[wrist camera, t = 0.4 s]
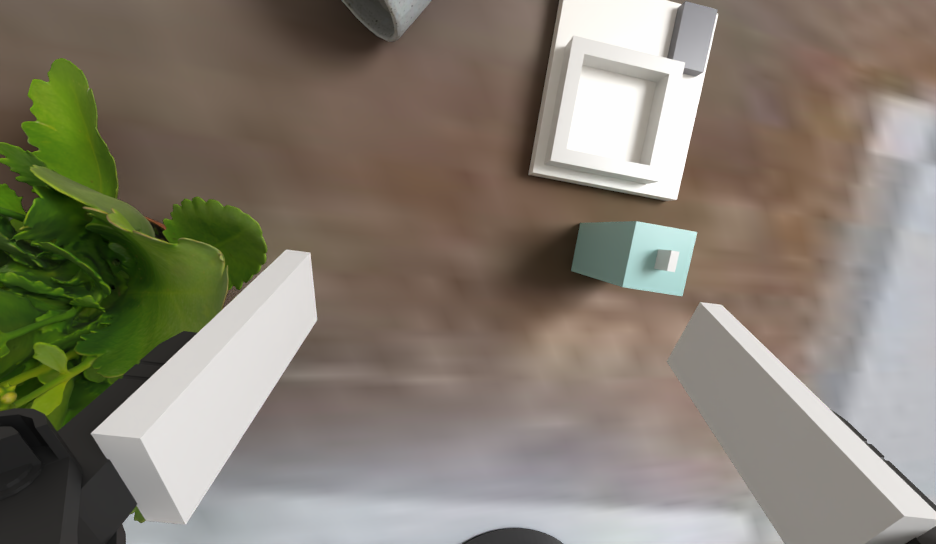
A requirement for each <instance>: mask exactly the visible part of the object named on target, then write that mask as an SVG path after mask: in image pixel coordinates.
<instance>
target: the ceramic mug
mask: <svg viewBox="0 0 936 544" xmlns="http://www.w3.org/2000/svg"><path fill="white" fill-rule="evenodd" d="M341 1H342V2H343V3H344V4H345V5H346V6H347V7H348V8H349V9H350V10H351V12H352V13H353V14H354V15H355V17H356V18H357V19H358V20H359V21H360V22H361V23H363V24H364V25H365V26H366V27H367V28H368V29H369V30H370V31H372V32H373V33H374V34H375V35H377V36H378V37H380V38H382V39H384V40H386V41H389V42H394V41H396V40H398V39H399V38H400V37H401V36H402V35H403V33H404V32H405V31H406V30H407V29H408V27H409V26H410V25H411V24H412V23H413V22H414V21H415V20H416V18H417V17H418V16H419V15H420V14H421V13H422V11H423V10H424V9H425V8H426V7H427V6H428V4H429V3H430V2H431V1H432V0H341Z"/></svg>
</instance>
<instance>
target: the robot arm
mask: <svg viewBox="0 0 936 544" xmlns="http://www.w3.org/2000/svg"><path fill="white" fill-rule="evenodd" d="M316 321H317V313H316V303H315V294H314V284H313V274H312V264H311V254H310V253H309V252H301V251H293V250H285V251H284V252H283V253H282V254H281V255H280V256H279V257H278V258H277V259H276V260H275V261H274V262H273V263H272V264H270V265H269V266H268V267H267V268H266V269H265V270H264V271H263V272H262V273H261V274H260V275H259V276H258V277H257V278H256V279H255V280H253V281H252V282H251V283H250V284H249V285H248V286H247V287H246V288H245V289H244V290H243V291H242V292H241V293H240V294H239V295H237V296H236V297H235V298H234V299H233V300H232V301H231V302H230V303H229V304H228V305H227V306H226V307H225V308H224V309H223V310H222V311H220V312H219V313H218V314H217V315H216V316H215V317H214V318H213V319H212V320H211V321H210V322H209V323H208V324H207V325H206V326H204V327H203V328H202V329H201V330H200V331H199V332H198V333H197V332H188V331H183V332H181V333H179V334H177V335H175V336H173V337H171V338H170V339H168V340H166V341H164V342H162V343H160V344H158V345H157V346H156V347H155V348H154V349H153V350H151V351H150V352H149V353H148V354H147V355H146V356H145V357H143V358H142V359H141V360H140V363H139V364H135V365H134V366H133V367H132V368H131V369H129V370H128V371H127V372H126V373H125V374H124V375H123V378H122V379H120V378H119V379H118V380H117V381H115V382H114V383H113V384H112V385H111V386H110V387H108V388H107V389H106V390H105V391H104V392H103V393H102V394H100V395H99V396H98V397H97V398H96V399H95V400H93V401H92V402H91V403H90V404H89V405H88V406H86V407H85V408H84V409H83V410H82V411H81V412H79V413H78V414H77V415H76V416H75V417H74V418H72V419H71V420H70V421H69V422H68V423H67V424H65V425H64V426H63V427H62V428H61V429H60V430H59V431H56V429H55V428H54V427H53V425H52V424H51V422H50V421H49V419H48V418H47V417H46V415H45V414H44V413H42V412H39V411H37V410H35V409H28V408H14V409H9V410H4V411H0V544H126V534H125V531H124V528H123V525H122V523H123V522H124V521H125V520H126V518H127V517H128V516H129V514H130V513H131V512H132V511H133V509H134V508H135V507H136V506H137V507H138V509H139V511H140V512H141V514H142V515H143V517H144V518H145V520H146V521H151V522H162V523H173V524H184V525H186V524H187V522H188V520H189V519H190V517H191V516H192V514H193V513H194V511H195V510H196V508H197V506H198V505H199V503H200V502H201V500H202V499H203V497H204V495H205V494H206V492H207V491H208V489H209V488H210V486H211V485H212V483H213V481H214V480H215V478H216V477H217V475H218V474H219V472H220V471H221V469H222V467H223V466H224V464H225V463H226V461H227V460H228V458H229V457H230V455H231V453H232V452H233V450H234V449H235V447H236V446H237V444H238V443H239V441H240V439H241V438H242V436H243V435H244V433H245V432H246V430H247V429H248V427H249V425H250V424H251V422H252V421H253V419H254V418H255V416H256V415H257V413H258V411H259V410H260V408H261V407H262V405H263V404H264V402H265V400H266V399H267V397H268V396H269V394H270V393H271V391H272V390H273V388H274V386H275V385H276V383H277V382H278V380H279V379H280V377H281V376H282V374H283V372H284V371H285V369H286V368H287V366H288V365H289V363H290V362H291V360H292V358H293V357H294V355H295V354H296V352H297V351H298V349H299V348H300V346H301V344H302V343H303V341H304V340H305V338H306V337H307V335H308V334H309V332H310V330H311V329H312V327H313V326H314V324H315V323H316ZM667 363H668V364H669V366H670V367H671V369H672V370H673V372H674V373H675V375H676V376H677V378H678V380H679V381H680V383H681V384H682V386H683V387H684V389H685V390H686V392H687V393H688V395H689V397H690V398H691V400H692V401H693V403H694V404H695V406H696V407H697V409H698V410H699V412H700V414H701V415H702V417H703V418H704V420H705V421H706V423H707V424H708V426H709V427H710V429H711V431H712V432H713V434H714V435H715V437H716V438H717V440H718V441H719V443H720V444H721V446H722V448H723V449H724V451H725V452H726V454H727V455H728V457H729V458H730V460H731V461H732V463H733V465H734V466H735V468H736V469H737V471H738V472H739V474H740V475H741V477H742V478H743V480H744V482H745V483H746V485H747V486H748V488H749V489H750V491H751V492H752V494H753V495H754V497H755V499H756V500H757V502H758V503H759V505H760V506H761V508H762V509H763V511H764V512H765V514H766V516H767V517H768V519H769V520H770V522H771V523H772V525H773V526H774V528H775V529H776V531H777V533H778V534H779V536H780V537H781V539H782V540H783V542H784V543H785V544H936V505H935V504H934V503H933V502H932V501H931V500H929V499H928V498H927V497H926V496H925V495H924V494H923V493H922V492H921V491H920V490H919V489H918V488H917V487H916V486H915V485H914V484H913V483H912V482H911V481H909V480H908V479H907V478H906V477H905V476H904V475H903V474H902V473H901V472H900V471H899V470H898V469H897V468H896V467H895V466H894V465H893V464H892V463H891V462H890V461H886V460H885V459H884V456H883V455H882V454H881V453H880V452H879V451H878V450H877V449H876V448H875V447H874V446H873V445H872V444H868V443H867V440H866V439H865V438H864V437H863V436H862V435H861V434H860V433H859V432H858V431H857V430H856V429H855V428H854V427H853V426H852V425H851V424H850V423H849V422H848V421H846V420H845V419H843V418H842V417H841V416H839V415H838V414H836V413H835V412H834V411H832V410H831V409H829V408H828V407H827V406H826V405H825V404H824V403H823V402H822V401H821V400H820V399H819V398H818V397H817V396H816V395H814V394H813V393H812V392H811V391H810V390H809V389H808V388H807V387H806V386H805V385H804V384H803V383H802V382H801V381H800V380H799V379H798V378H797V377H796V376H795V375H794V374H793V373H792V372H791V371H790V370H789V369H788V368H786V367H785V366H784V365H783V364H782V363H781V362H780V361H779V360H778V359H777V358H776V357H775V356H774V355H773V354H772V353H771V352H770V351H769V350H768V349H767V348H766V347H765V346H764V345H763V344H762V343H761V342H760V341H759V340H757V339H756V338H755V337H754V336H753V335H752V334H751V333H750V332H749V331H748V330H747V329H746V328H745V327H744V326H743V325H742V324H741V323H740V322H739V321H738V320H737V319H736V318H735V317H734V316H733V315H732V314H731V313H730V312H728V311H727V310H726V309H725V308H724V307H723V306H722V305H719V304H711V303H703V302H700V303H699V305H698V307H697V308H696V310H695V312H694V314H693V316H692V317H691V319H690V321H689V323H688V325H687V326H686V328H685V330H684V332H683V333H682V335H681V337H680V339H679V341H678V342H677V344H676V346H675V348H674V349H673V351H672V353H671V355H670V357H669V358H668V360H667ZM465 544H563V543H562V542H560V541H559V540H557V539H556V538H554V537H552V536H550V535H548V534H545V533H542V532H539V531H535V530H530V529H522V528H512V529H502V530H497V531H493V532H489V533H486V534H483V535H481V536H478V537H476V538H474V539H472V540H470V541H468V542H467V543H465Z"/></svg>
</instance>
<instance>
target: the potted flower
mask: <svg viewBox="0 0 936 544" xmlns="http://www.w3.org/2000/svg"><path fill="white" fill-rule="evenodd" d="M47 74H48V77H49V80H50V81H49V82H44V81H42V80H39V79H33V80H32V83H31V85H30V89H29V92H28V96H29V98H30V99H31V100H32V101H33V106H32V107H31V108H30V111H31V112H32V113H33V114H34V116H35V117H36V118H37V121H34V122H33V121H27V122H23V123H22V125H21V128H22V129H23V131H24V132H25V134H26V135H27V136H28V140H27V141H28V143H30V144H31V145H33V146H35V147H37V148H38V149H39V150H38V151H34V152H30V151H28V150H27V151H24V150H23V149H21V148H20V147H18V146H13V145H10V144H8V143H4V142H0V154H2V155H4V156H6V158H0V162H1V163H3V164H5V165H7V166H9V167H10V168H11V169H10V170H11V171H13V172H16V173H18V174H20V176H18V177H16V178H15V179H16V180H17V181H19V182H24V183H27V184H29V185H30V186H33V189H32V190H31V191H32V192H34V193H37V194H38V196H39V197H40V198H35V199H34V200H33V204H32V206H31V207H30V209H29V210H28V212H27V213H26V212H25V211H24V209H23V207H22V205H21V201H22V198H23V197H18V196H17V195H16V193H15V191H14V190H12V189H10V188H9V187H8V185H7V184H0V214H1V215H0V411H4V410H9V409H14V408H28V409H35V410H37V411H39V412H42V413H44V414H45V415H46V417H47V418H48V419H49V421H50V422H51V424H52V425H53V427H54V428H55V429H56V431H59V430H60V429H61V428H62V427H63V426H64V425H65V424H67V423H68V422H69V421H70V420H71V419H72V418H74V417H75V416H76V415H77V414H78V413H79V412H81V411H82V410H83V409H84V408H85V407H86V406H88V405H89V404H90V403H91V402H92V401H93V400H95V399H96V398H97V397H98V396H99V395H100V394H102V393H103V392H104V391H105V390H106V389H107V388H108V387H110V386H111V385H112V384H113V383H114V382H115V381H117V380H118V379H119V378H120V379H122V378H123V375H124V374H125V373H126V372H127V371H128V370H129V369H131V368H132V367H133V366H134V365H135V364H139V363H140V360H141V359H142V358H143V357H145V356H146V355H147V354H148V353H149V352H150V351H151V350H153V349H154V348H155V347H156V346H157V345H158V344H160V343H162V342H164V341H166V340H168V339H170V338H171V337H173V336H175V335H177V334H179V333H181V332H183V331H188V332H197V333H198V332H199V331H200V330H201V329H202V328H203V327H204V326H206V325H207V324H208V323H209V322H210V321H211V320H212V319H213V318H214V317H215V316H216V315H217V314H218V313H219V312H220V311H222V310H223V306H224V302H225V299H226V296H227V292H228V290H230V289H231V288H232V286H235V287H236V289H237V290H240V289H241V287H242V285H243V282H245V283H247V282H248V281H250V280H251V278H252V277H253V275H254V274H257V273H259V271H260V269H261V265H263V264H265V263H266V259H267V258H266V253H267V245H266V242H265V240H264V238H263V236H262V230H261V228H260V225H259V224H258V222H256V221H255V220H254V219H253V218H252V217H251V216H249V215H248V214H246V213H243V212H242V211H241V210H240V209H239V208H237V207H233V206H230V205H226V206H225V207H224V206H223V205H222V204H221V203H220V202H218V201H216V200H213V199H209V200H208V201H207V202H205V201H204V200H203V199H201V198H200V197H194V198H193V199H192V201H190V200H189V199H184V200H183V201H182V202H181V205H182V206H179V205H178V204H173V212H171V213H170V214H171V216H172V220H169V219H163V224H164V225H163V224H161V223H159V222H157V221H155V220H152V219H150V218H148V217H145V216H143V215H142V214H141V213H140V212H139V211H138V210H136V209H135V208H134V207H132V206H131V205H129V204H127V203H125V202H123V201H121V200H118V199H117V196H118V177H117V170H116V164H115V160H114V158H113V156H111V154H110V152H109V149H108V146H107V145H106V143H105V142H104V141H103V139H102V138H101V136H100V134H99V132H98V127H97V121H98V114H97V107H96V103H95V99H94V95H93V91H92V89H91V88H90V89H89V86H88V81H87V79H86V77H85V75H84V73H83V71H82V70H80V69H78V67H77V66H75V65H74V64H73V63H72V62H70V61H68V60H66V59H63V58H60V59H57V60H55V61H54V62H53V63H52V65H51V69H50V71H49V72H48V73H47ZM3 215H4V216H3ZM134 512H135V516H134V520H135V521H139V522H140V523H142V522H144V521H146V520H145V518H144V517H143V515H142V514H141V512H140V511H139V509H138V507H137V506H136V507H135V508H134V509H133V511H132V512H131V513H130V514H132V513H134Z"/></svg>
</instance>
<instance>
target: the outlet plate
mask: <svg viewBox="0 0 936 544" xmlns="http://www.w3.org/2000/svg"><path fill="white" fill-rule="evenodd" d="M717 18H718V14H717V9H713V8H709V7H706V6H702V5H698V4H694V3H691V2H687V1H685V2H684V3H683V4H678V3H675V2H671V1H667V0H559V5H558V11H557V16H556V22H555V27H554V33H553V39H552V44H551V50H550V56H549V61H548V67H547V72H546V78H545V84H544V89H543V95H542V101H541V106H540V112H539V118H538V123H537V129H536V134H535V140H534V146H533V151H532V157H531V163H530V168H529V174H528V175H532V176H538V177H543V178H548V179H553V180H559V181H564V182H569V183H575V184H580V185H585V186H590V187H596V188H601V189H606V190H612V191H617V192H622V193H627V194H633V195H638V196H643V197H649V198H654V199H659V200H665V201H671V200H677V196H678V192H679V187H680V183H681V179H682V174H683V170H684V165H685V161H686V156H687V152H688V147H689V143H690V138H691V134H692V129H693V125H694V120H695V116H696V112H697V107H698V103H699V98H700V94H701V89H702V85H703V80H704V76H705V71H706V67H707V62H708V58H709V53H710V49H711V44H712V40H713V36H714V31H715V27H716V22H717Z"/></svg>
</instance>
